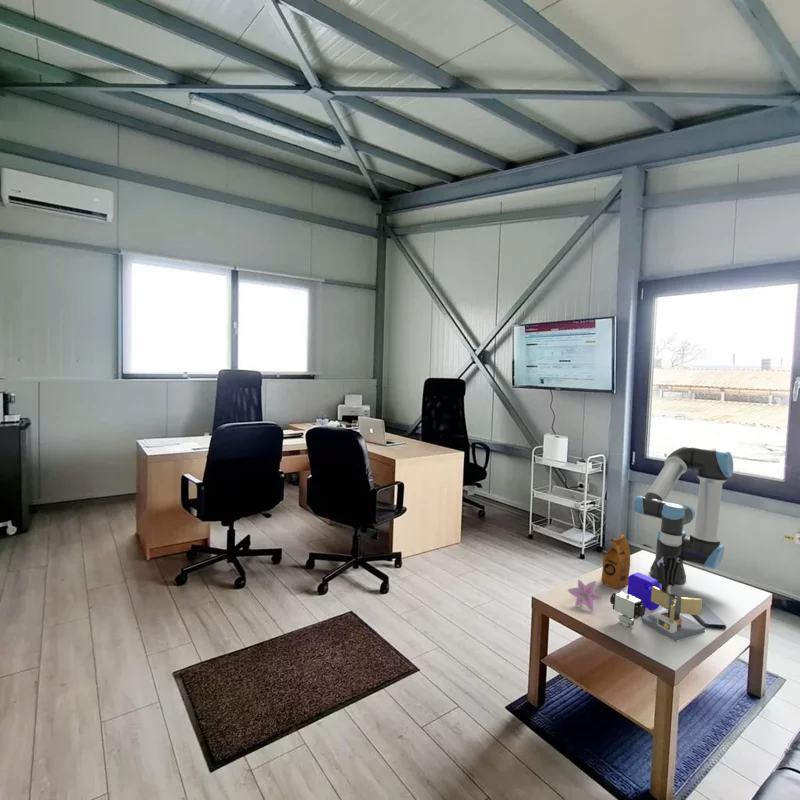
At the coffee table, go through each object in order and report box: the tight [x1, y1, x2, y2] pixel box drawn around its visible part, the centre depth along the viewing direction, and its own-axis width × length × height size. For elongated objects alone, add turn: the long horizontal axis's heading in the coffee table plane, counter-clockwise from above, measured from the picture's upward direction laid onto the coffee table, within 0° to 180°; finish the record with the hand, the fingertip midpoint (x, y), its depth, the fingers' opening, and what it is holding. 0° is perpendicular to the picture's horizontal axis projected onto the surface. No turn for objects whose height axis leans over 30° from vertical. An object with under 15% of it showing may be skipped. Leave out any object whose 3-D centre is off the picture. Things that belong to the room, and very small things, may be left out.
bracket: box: [626, 572, 662, 611], centre depth 204 cm, size 18×11×12 cm, turn 123°
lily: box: [567, 579, 602, 612], centre depth 198 cm, size 12×12×10 cm
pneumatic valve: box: [609, 590, 646, 628], centre depth 184 cm, size 6×12×12 cm, turn 36°
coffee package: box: [600, 534, 631, 590], centre depth 218 cm, size 10×12×22 cm
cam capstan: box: [651, 586, 703, 627], centre depth 184 cm, size 17×15×10 cm
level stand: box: [641, 609, 706, 642], centre depth 183 cm, size 18×14×6 cm
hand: (665, 600), depth 190 cm, fingers closed
